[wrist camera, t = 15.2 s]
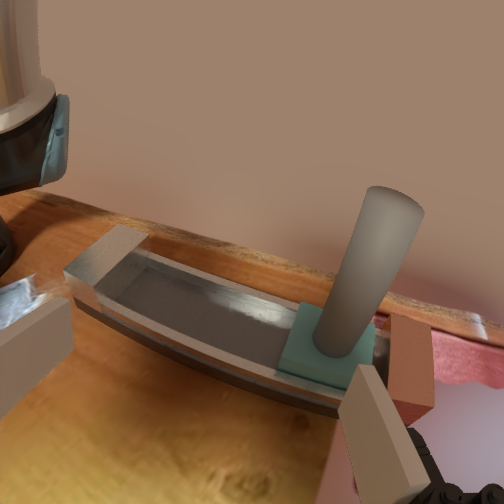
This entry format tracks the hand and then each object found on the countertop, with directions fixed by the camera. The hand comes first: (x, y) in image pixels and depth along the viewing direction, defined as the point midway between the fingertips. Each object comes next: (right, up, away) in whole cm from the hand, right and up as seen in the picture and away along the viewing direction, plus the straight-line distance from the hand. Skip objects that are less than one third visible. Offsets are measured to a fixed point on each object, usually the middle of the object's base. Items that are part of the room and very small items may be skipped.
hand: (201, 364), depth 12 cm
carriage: (+9, -5, +15) cm, 19 cm away
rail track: (+1, -5, +18) cm, 19 cm away
